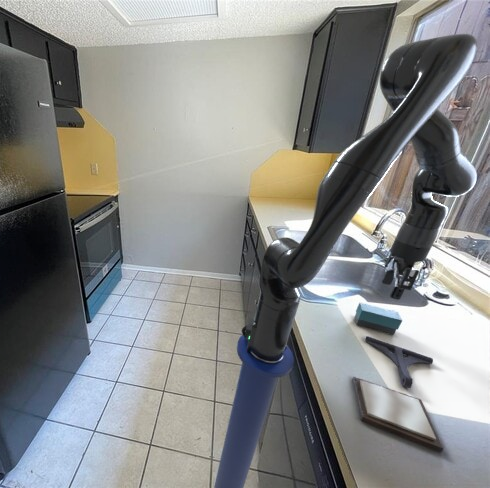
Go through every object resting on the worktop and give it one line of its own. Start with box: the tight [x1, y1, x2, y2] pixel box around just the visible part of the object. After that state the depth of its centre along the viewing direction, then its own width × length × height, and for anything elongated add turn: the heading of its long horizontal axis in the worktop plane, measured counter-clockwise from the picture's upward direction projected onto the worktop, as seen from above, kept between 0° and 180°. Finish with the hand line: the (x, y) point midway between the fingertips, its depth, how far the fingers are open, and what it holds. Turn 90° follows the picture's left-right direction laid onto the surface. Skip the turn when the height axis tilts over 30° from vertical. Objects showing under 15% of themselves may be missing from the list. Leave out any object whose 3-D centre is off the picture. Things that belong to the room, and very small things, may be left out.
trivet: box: [351, 376, 445, 453], centre depth 56 cm, size 13×11×2 cm
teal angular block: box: [353, 302, 403, 336], centre depth 81 cm, size 10×4×6 cm, turn 64°
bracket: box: [364, 335, 434, 389], centre depth 67 cm, size 14×15×3 cm
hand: (389, 290), depth 77 cm, fingers open, 8 cm apart
